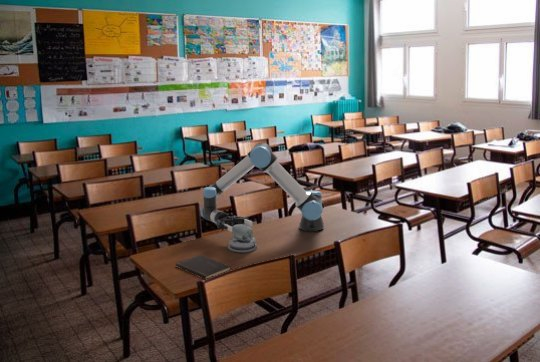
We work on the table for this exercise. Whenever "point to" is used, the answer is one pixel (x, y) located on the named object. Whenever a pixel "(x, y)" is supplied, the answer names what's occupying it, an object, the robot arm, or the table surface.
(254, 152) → the robot arm
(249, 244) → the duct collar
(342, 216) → the table surface
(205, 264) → the hardcover book
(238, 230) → the grey rounded block
